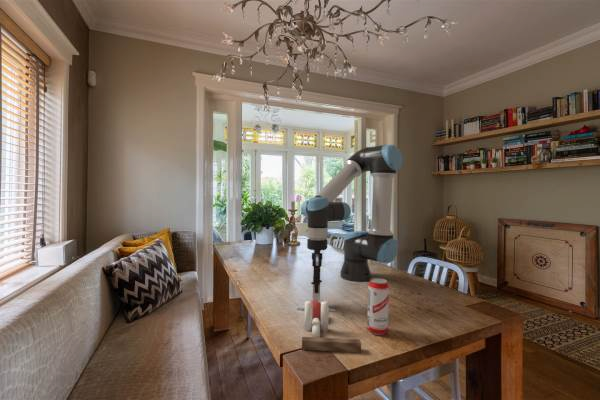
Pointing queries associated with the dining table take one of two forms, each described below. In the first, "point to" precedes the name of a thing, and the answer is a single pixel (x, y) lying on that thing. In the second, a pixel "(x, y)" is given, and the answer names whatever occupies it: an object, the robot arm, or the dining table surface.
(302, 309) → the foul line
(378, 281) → the beer can
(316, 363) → the dining table surface
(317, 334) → the pin front
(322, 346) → the back wall
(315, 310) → the ball
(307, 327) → the pin back left
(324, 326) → the pin back right
